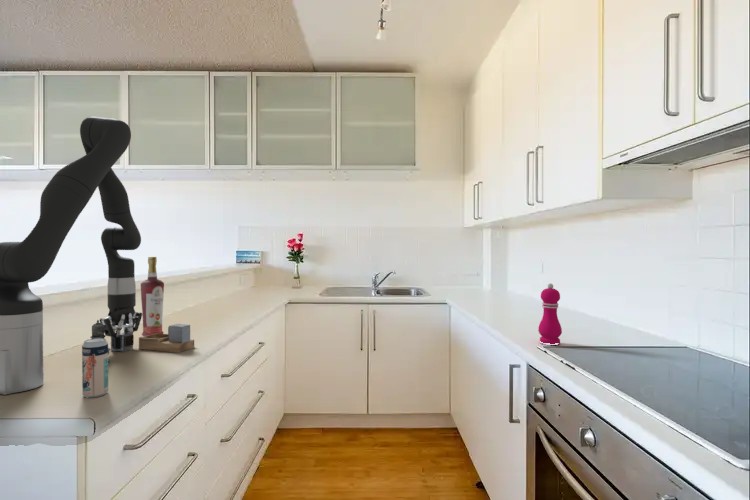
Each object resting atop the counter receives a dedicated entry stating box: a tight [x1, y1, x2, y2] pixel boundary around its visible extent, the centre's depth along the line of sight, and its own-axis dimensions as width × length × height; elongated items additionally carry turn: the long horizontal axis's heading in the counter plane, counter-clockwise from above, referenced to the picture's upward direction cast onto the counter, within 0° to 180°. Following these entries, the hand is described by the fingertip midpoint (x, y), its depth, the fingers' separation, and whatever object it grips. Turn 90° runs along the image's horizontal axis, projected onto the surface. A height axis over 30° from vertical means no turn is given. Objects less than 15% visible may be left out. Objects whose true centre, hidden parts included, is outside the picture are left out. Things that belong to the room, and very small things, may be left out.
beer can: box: [81, 337, 109, 399], centre depth 97 cm, size 5×5×12 cm
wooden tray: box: [138, 333, 195, 354], centre depth 139 cm, size 7×15×4 cm, turn 72°
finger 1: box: [110, 331, 135, 353], centre depth 137 cm, size 4×6×5 cm, turn 72°
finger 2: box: [167, 323, 191, 343], centre depth 138 cm, size 4×6×5 cm, turn 72°
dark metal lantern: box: [90, 319, 112, 364], centre depth 122 cm, size 6×6×12 cm
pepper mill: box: [537, 283, 563, 344], centre depth 147 cm, size 7×7×20 cm
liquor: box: [140, 256, 165, 337], centre depth 155 cm, size 7×7×28 cm
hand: (122, 347), depth 137 cm, fingers closed on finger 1, 3 cm apart
